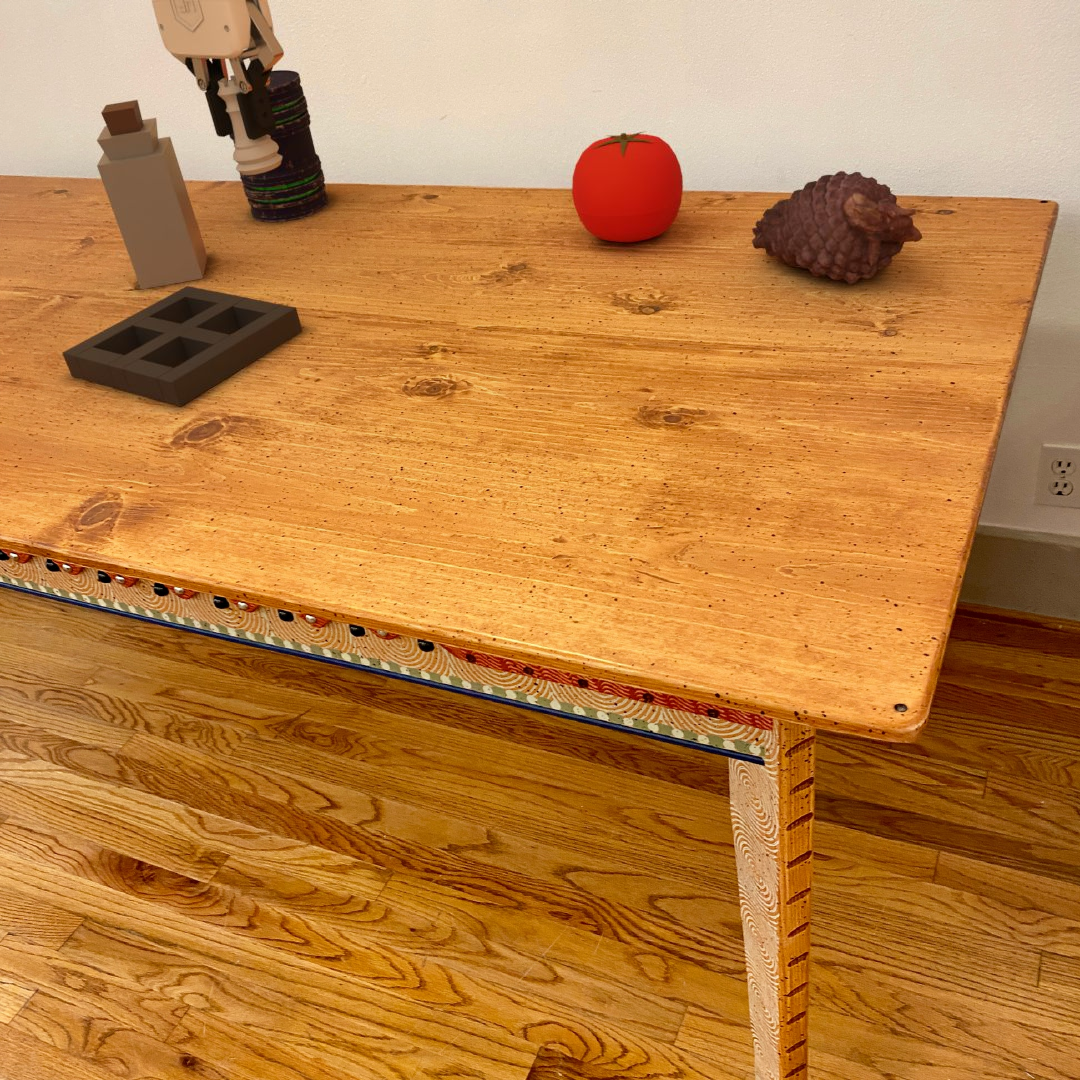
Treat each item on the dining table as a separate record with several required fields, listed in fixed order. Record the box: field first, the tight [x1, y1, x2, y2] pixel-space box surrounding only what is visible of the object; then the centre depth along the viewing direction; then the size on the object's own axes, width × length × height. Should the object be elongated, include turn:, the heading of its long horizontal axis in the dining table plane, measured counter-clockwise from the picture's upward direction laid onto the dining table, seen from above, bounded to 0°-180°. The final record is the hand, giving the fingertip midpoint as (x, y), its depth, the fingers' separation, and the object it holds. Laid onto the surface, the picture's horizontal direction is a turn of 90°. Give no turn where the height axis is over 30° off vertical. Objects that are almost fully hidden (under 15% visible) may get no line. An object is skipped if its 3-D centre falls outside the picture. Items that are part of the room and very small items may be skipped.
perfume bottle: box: [96, 99, 208, 290], centre depth 116 cm, size 7×7×18 cm
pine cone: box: [751, 170, 924, 285], centre depth 99 cm, size 18×10×10 cm
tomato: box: [571, 130, 684, 243], centre depth 111 cm, size 11×12×10 cm
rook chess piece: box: [218, 74, 282, 175], centre depth 99 cm, size 4×4×8 cm
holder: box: [61, 285, 303, 407], centre depth 103 cm, size 16×16×2 cm
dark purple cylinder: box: [228, 69, 330, 223], centre depth 131 cm, size 10×10×15 cm
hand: (246, 131), depth 99 cm, fingers closed on rook chess piece, 3 cm apart
